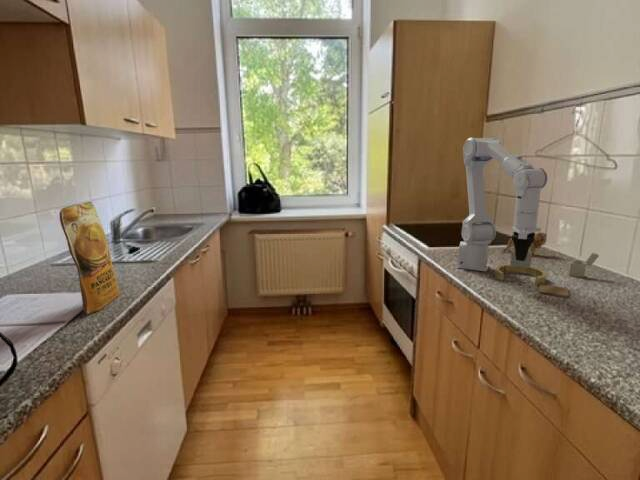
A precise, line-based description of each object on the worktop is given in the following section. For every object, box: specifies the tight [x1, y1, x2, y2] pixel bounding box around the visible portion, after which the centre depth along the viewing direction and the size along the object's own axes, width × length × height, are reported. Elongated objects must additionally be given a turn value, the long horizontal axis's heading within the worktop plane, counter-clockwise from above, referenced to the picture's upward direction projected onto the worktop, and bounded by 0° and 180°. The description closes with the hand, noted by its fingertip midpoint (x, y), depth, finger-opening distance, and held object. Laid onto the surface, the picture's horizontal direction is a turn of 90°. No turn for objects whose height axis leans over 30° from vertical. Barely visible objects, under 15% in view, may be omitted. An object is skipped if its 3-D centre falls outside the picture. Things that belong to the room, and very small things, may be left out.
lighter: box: [567, 252, 599, 278], centre depth 117 cm, size 7×2×8 cm, turn 68°
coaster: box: [538, 284, 569, 299], centre depth 106 cm, size 7×7×1 cm
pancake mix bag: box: [59, 201, 121, 315], centre depth 100 cm, size 7×19×28 cm, turn 3°
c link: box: [509, 248, 533, 268], centre depth 106 cm, size 5×4×4 cm
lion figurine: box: [502, 231, 548, 257], centre depth 144 cm, size 15×5×9 cm, turn 70°
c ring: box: [494, 264, 547, 287], centre depth 119 cm, size 14×15×2 cm
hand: (520, 258), depth 106 cm, fingers closed on c link, 4 cm apart
